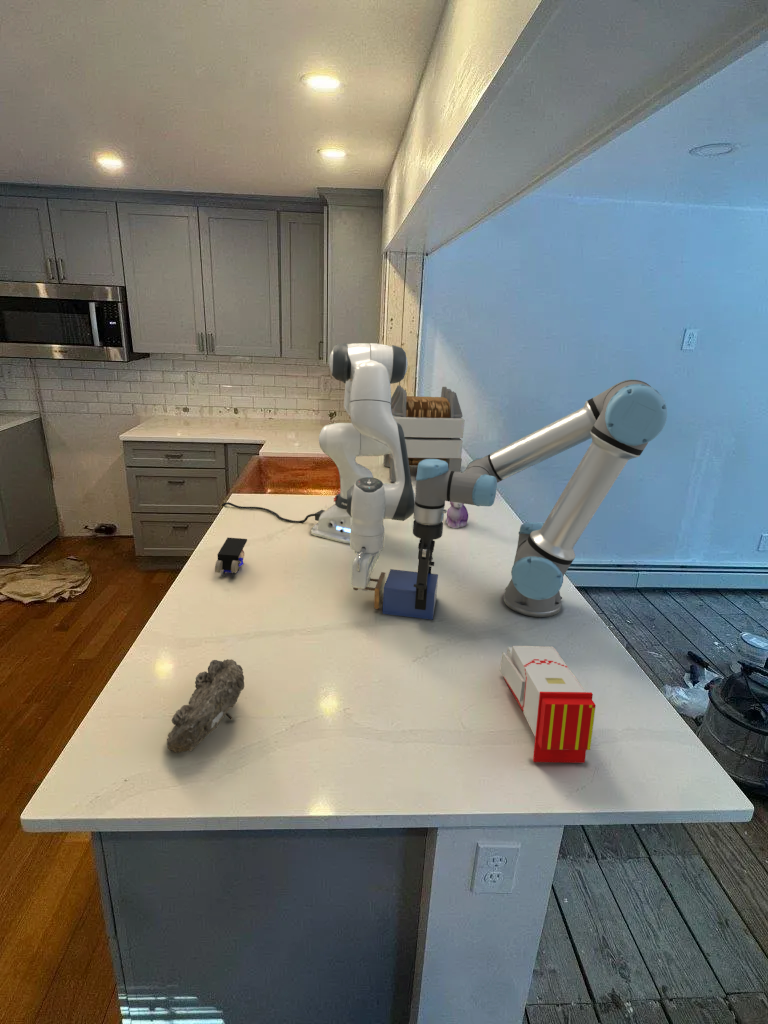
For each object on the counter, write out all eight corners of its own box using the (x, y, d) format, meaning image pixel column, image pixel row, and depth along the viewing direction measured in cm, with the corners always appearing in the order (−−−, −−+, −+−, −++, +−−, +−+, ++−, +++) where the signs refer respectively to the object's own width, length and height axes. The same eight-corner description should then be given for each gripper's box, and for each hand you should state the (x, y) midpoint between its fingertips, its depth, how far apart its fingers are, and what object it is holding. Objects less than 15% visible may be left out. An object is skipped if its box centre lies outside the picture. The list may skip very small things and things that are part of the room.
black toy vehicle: (238, 584, 162) (249, 557, 175) (236, 562, 158) (247, 536, 172) (215, 584, 161) (227, 556, 175) (212, 561, 158) (225, 535, 171)
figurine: (453, 530, 205) (457, 490, 200) (438, 521, 213) (441, 482, 208) (475, 527, 209) (479, 488, 204) (459, 517, 217) (462, 480, 212)
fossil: (192, 660, 117) (244, 628, 112) (224, 691, 120) (276, 661, 115) (142, 746, 98) (202, 712, 93) (182, 779, 101) (242, 748, 96)
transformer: (382, 463, 289) (386, 382, 275) (445, 464, 293) (451, 384, 279) (390, 482, 257) (394, 392, 243) (460, 483, 261) (468, 394, 247)
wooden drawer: (351, 605, 149) (351, 585, 147) (358, 588, 158) (359, 569, 156) (419, 614, 146) (420, 593, 144) (423, 596, 155) (424, 576, 153)
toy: (549, 628, 125) (605, 700, 96) (544, 683, 128) (596, 770, 99) (495, 627, 125) (534, 699, 95) (491, 683, 128) (527, 769, 98)
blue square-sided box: (382, 613, 147) (383, 587, 145) (389, 594, 158) (390, 569, 155) (432, 619, 145) (434, 593, 143) (436, 599, 156) (438, 574, 153)
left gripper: (371, 558, 137) (369, 608, 142) (385, 528, 156) (383, 573, 161) (346, 555, 138) (344, 605, 143) (363, 525, 157) (361, 570, 162)
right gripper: (439, 539, 131) (432, 622, 139) (446, 507, 153) (440, 580, 160) (407, 536, 132) (402, 618, 140) (418, 504, 154) (413, 577, 161)
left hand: (365, 588), depth 152 cm, fingers closed
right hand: (422, 598), depth 150 cm, fingers closed on blue square-sided box, 11 cm apart
